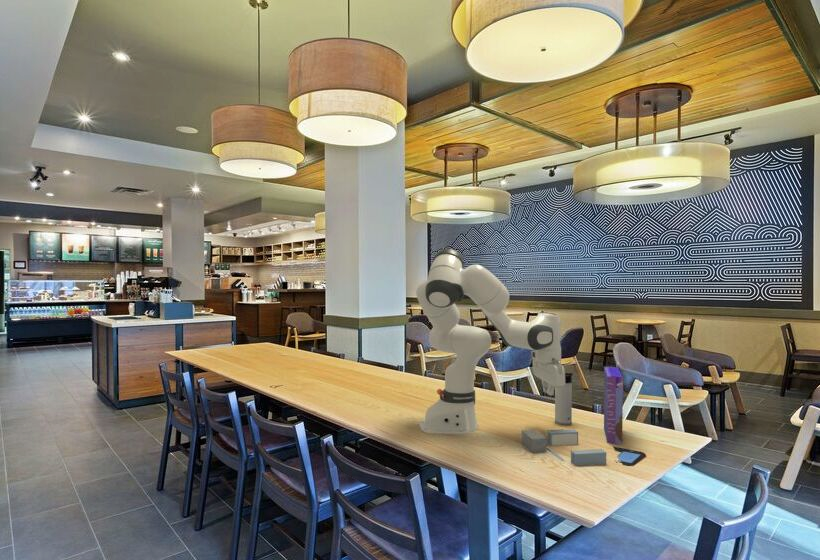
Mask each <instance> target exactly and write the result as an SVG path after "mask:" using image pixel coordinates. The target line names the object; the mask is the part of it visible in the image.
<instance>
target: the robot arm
mask: <svg viewBox="0 0 820 560" xmlns="http://www.w3.org/2000/svg"><path fill="white" fill-rule="evenodd" d="M415 294H416V298H417V301H418V304H419V305H420V307H421V309H422V311H423V313H424V314H425V316H426V318H427V319H428V320H429V322H430V324H431V326H432V329H431V330H430V331H429V336H428V338H429V339H428V340H429V343H430V345H431V347H432V348H433V349H435V350H437V351H440V352H443V353H450V354H456V357H455V358H456V359H455V361H454V362H453V363H451V364H449V365H448V366H446V369H445V371H444V389H443V390H442V389H441V388H438V389H436V393H437V395H439V399H438V400H437V401H436V402H434V403H433V404H431V406H428V408H427V410H426V411H425V417H424V419H421V420H420V421H419V423H418V426H419V429H420V430H421V431H422V432H423V433H426V434H437V435H438V434H440V435H442V434H443V435H444V434H445V435H469V434H470V433H472V432H475V431H477V430H478V429H479V423H478V421H477V417H476V409H475V408H476V407H475V405H476V390H475V374H476V373H475V371H476V367H477V365H478V363H479V361H480V359H482V357H483V356H485V355H486V354H487V353H488V352H489V351H490V349H491V346H492V337H491V334H490V333H489V331H488V330H487V329H485V328H481V327H478V326H475V325H474V326H473V325H463V324H459V322H460V318H461V314H460V313H461V312H460V310H459V308H458V306H457V305H456V303H459V302H461V301H462V300H463V299H464V296H467V297H469V298H470V299H471V300H472V302H474V303H475V305H477V306H478V307H479V308H480V311H481V312H482V314H483V315H484V316H485V317H486V319H487V320H488V321H489V322H490V323H491V324H492V325H493V328H495V329H496V331H497V332H498V334H499V336H500V339H501V341H502V342H503V344H504V345H505V346H508V347H513V348H520V349H525V350H531V357H532V373H533V375H534V376H535V377H537V378H538V379H540V380H541V386H542V387H543V388H542V389H543V393H545V394H547V395H549V396H555V387H557V388H558V387H564V386H565V373H566V372H565V371H566V370H565V367H564V366H563V365H562V346H561V340H562V324H561V318H560V317H559V315H558V314H557V313H552V312H545V311H540V312H538V313H537V316H536V317H535V318H534V319H533V320H531V321H522V320H521V321H520V320H516V319H513V318H511V317H509V316H508V315H507V314H506V312H505V311H504V310H505V309H506V308H507V306H508V304H509V302H510V292H509V290H508V289H507V287H506V286H505V285H504V283H503V282H502V281H501V280H500V279H499V278H498V277H497V276H496V275H494V274H493V273H492V272H491V271H490V270H489V269H487V268H485V267H484V266H483V265H480V264H471V265H469V266H467V267H466V268H464V259H463V256H462V254H461V253H460V252H458V251H457V250H455V249H453V248H443V249H440V250H439V251H438V252H437V253H436V254H435V256H434V257H433V260H432V264H431V266H430V269H429V271H428V275H427V279H426V280H423V281H421V283H420V284H419V285H418V286H417V289H416V293H415Z"/></svg>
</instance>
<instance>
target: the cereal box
mask: <svg viewBox="0 0 820 560" xmlns="http://www.w3.org/2000/svg"><path fill="white" fill-rule="evenodd" d="M603 368H604V369H603V429H604V434H605V439H606V443H608V444H615V445H616V444H617V445H623V421H624V420H623V418H624V417H623V415H624V414H623V406H624V405H623V402H624V400H623V399H624V398H623V397H624V396H623V395H624V394H623V393H624V386H623V385H624V377H623V375H622V373H621V371H620V369H619V367H618V366H612V365H611V366H609V365H607V366H603Z"/></svg>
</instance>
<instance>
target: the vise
mask: <svg viewBox="0 0 820 560" xmlns="http://www.w3.org/2000/svg"><path fill="white" fill-rule="evenodd" d="M547 450H548V451H549V452H550V453H551V454H553V455H554V456H555V457H556V458H557V459H559V460H560V461H561V462H565V460H564V458H562V457H561V456H560V455H559V454H558V453H556V451H555V450H554V449H552V448H551V447H547ZM570 463H572V464H573V465H574V466H595V465H607V452H606V451H605V450H604V449H602V448H598V449H596V448H594V449H592V448H591V449H578V450H576V449H575V450H570Z"/></svg>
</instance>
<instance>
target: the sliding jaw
mask: <svg viewBox="0 0 820 560" xmlns="http://www.w3.org/2000/svg"><path fill="white" fill-rule="evenodd" d="M546 438H547V445H549V446H571V445H574V446H575V445H579V431H577V430H576V429H575V428H574V429H547V430H546Z"/></svg>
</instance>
